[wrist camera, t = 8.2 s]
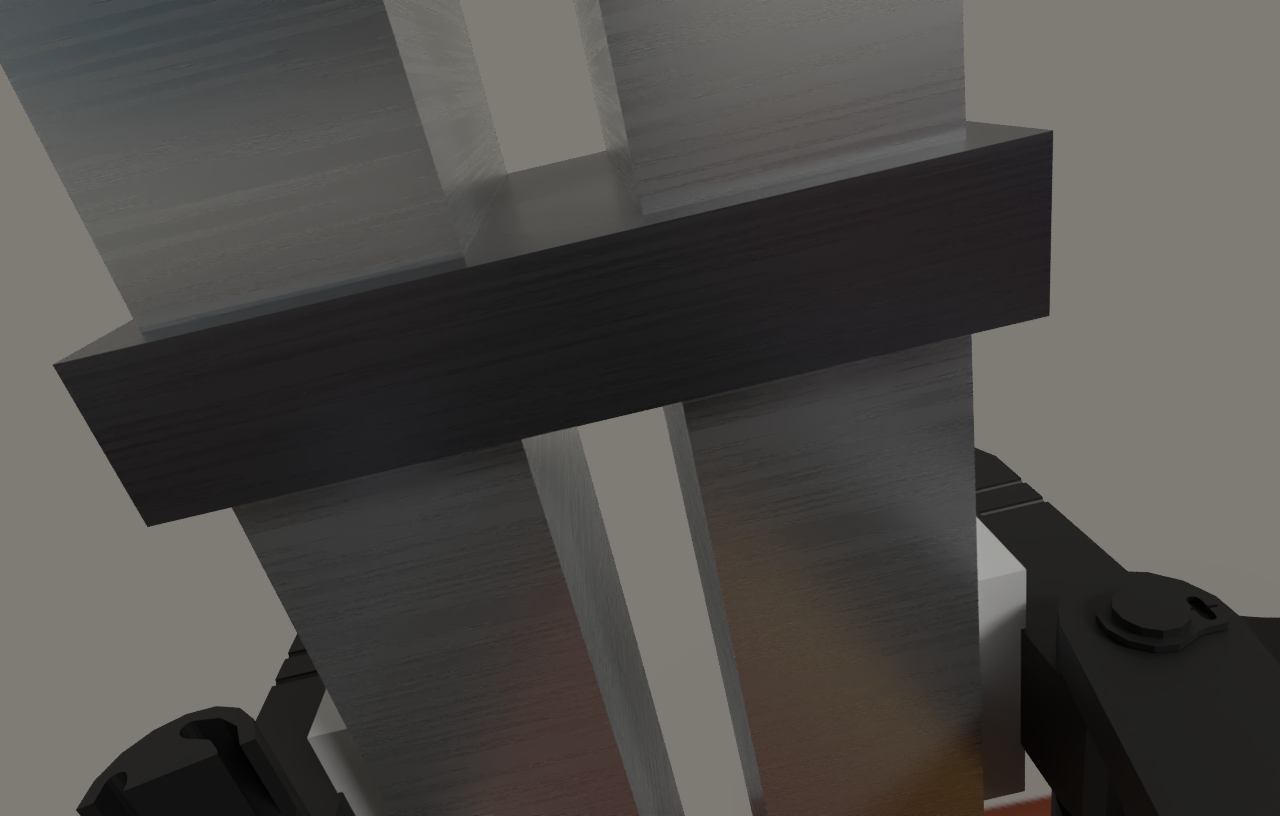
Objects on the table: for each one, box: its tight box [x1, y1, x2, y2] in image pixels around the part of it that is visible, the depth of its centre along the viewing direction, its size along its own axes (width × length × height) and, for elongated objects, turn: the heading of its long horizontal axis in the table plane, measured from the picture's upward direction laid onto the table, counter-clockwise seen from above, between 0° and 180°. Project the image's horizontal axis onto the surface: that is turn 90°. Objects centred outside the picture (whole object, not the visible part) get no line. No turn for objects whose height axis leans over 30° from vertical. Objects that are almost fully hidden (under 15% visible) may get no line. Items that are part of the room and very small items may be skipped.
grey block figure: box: [0, 0, 1053, 816], centre depth 8 cm, size 5×5×20 cm
